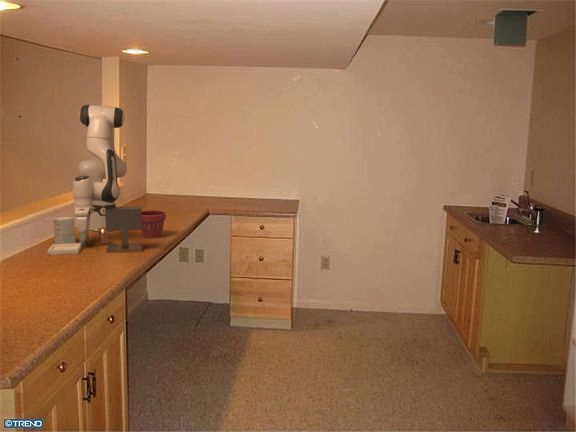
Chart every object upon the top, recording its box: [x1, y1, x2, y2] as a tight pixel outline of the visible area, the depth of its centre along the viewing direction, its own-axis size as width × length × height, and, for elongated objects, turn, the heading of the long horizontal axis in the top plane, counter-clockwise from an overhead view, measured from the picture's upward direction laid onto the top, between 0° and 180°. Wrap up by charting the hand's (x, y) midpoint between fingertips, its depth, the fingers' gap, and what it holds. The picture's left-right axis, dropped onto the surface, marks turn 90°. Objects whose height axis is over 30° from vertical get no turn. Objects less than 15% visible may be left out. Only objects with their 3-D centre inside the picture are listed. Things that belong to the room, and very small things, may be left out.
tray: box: [47, 242, 83, 256], centre depth 267 cm, size 13×13×2 cm
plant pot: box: [141, 210, 167, 239], centre depth 300 cm, size 14×14×13 cm
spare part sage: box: [78, 229, 90, 247], centre depth 279 cm, size 4×4×8 cm
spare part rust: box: [97, 228, 110, 247], centre depth 281 cm, size 4×4×8 cm
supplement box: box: [53, 216, 77, 244], centre depth 282 cm, size 7×7×13 cm
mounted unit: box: [105, 205, 144, 254], centre depth 271 cm, size 12×16×20 cm
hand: (85, 237), depth 279 cm, fingers open, 8 cm apart
